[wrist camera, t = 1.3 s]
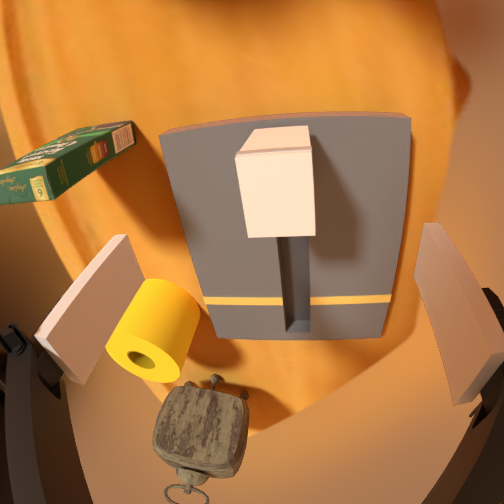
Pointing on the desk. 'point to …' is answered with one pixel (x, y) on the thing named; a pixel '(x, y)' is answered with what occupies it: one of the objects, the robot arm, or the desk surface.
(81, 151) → the coffee box
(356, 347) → the desk surface
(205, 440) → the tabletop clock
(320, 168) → the fader console
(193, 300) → the yellow toilet paper roll
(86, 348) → the robot arm
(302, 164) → the fader knob
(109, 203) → the desk surface
